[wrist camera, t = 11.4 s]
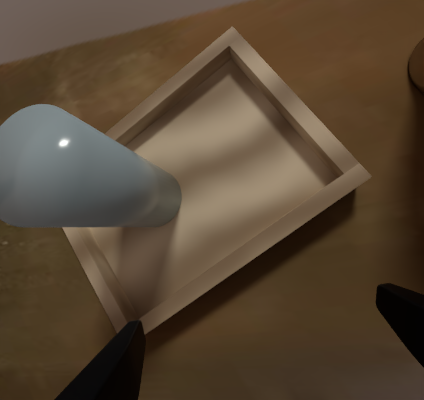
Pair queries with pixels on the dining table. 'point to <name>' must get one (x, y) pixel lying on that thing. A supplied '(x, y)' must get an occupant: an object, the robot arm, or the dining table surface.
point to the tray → (214, 182)
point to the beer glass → (417, 66)
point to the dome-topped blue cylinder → (77, 176)
